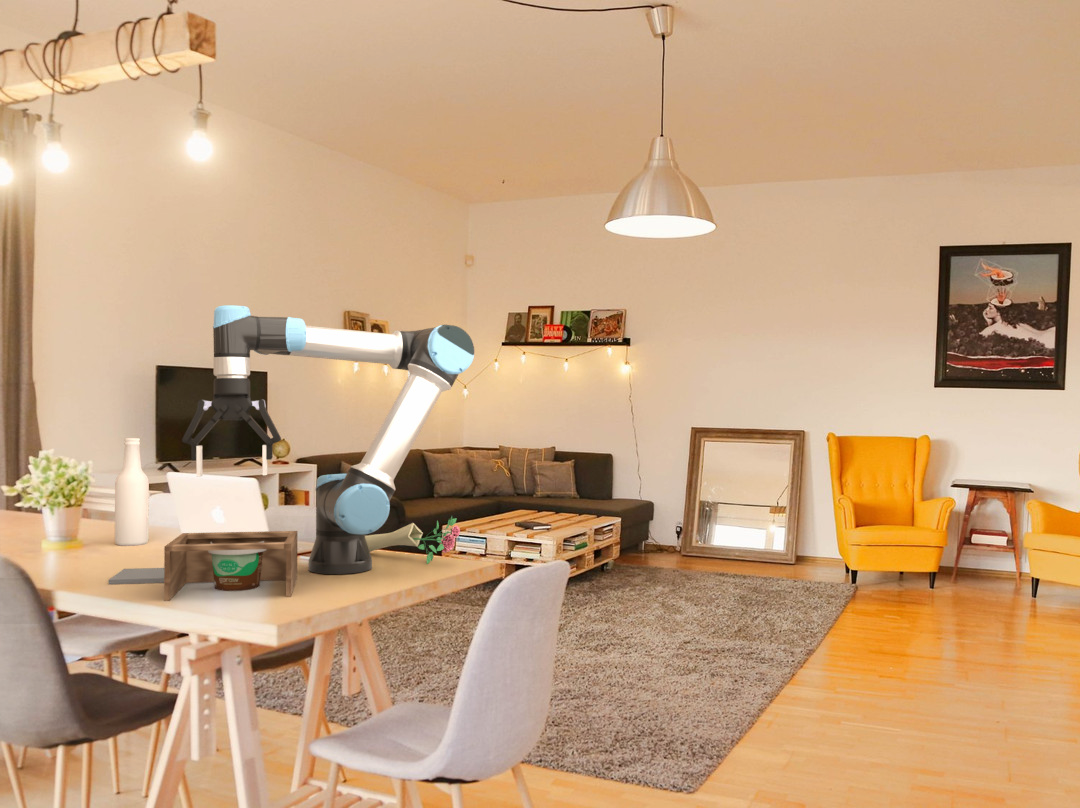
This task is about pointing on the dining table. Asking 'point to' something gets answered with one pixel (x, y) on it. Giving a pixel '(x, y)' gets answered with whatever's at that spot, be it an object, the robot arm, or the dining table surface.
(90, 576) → the dining table surface
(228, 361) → the robot arm
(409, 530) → the flower vase
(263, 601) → the dining table surface
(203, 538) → the access cubby
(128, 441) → the alcohol
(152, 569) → the mat
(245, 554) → the food container
